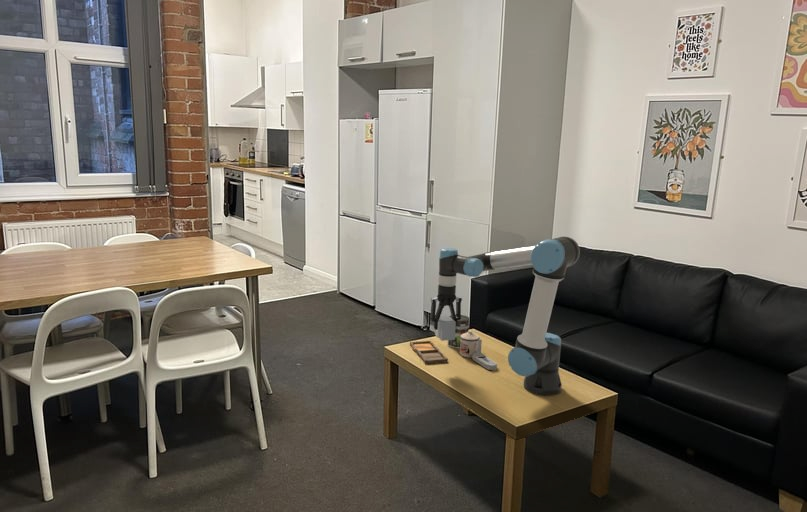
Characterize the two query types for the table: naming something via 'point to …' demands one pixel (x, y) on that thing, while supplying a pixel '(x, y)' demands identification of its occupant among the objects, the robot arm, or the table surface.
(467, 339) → the teacup with lid
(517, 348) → the robot arm
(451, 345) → the coffee can
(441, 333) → the grey paneled block
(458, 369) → the table surface
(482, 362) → the electronic device
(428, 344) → the tray
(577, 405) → the table surface
